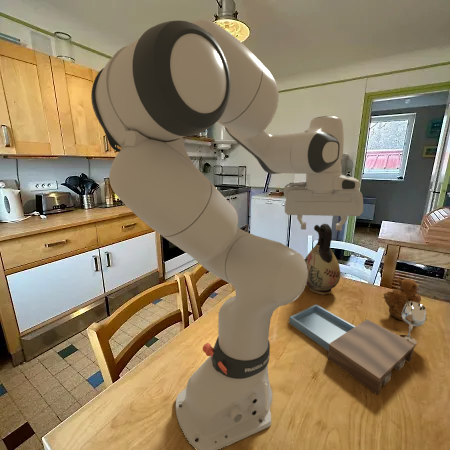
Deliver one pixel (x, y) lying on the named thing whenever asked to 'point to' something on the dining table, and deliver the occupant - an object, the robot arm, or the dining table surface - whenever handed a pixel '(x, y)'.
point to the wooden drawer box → (370, 354)
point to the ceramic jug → (322, 263)
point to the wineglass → (413, 317)
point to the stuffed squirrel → (402, 297)
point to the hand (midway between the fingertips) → (320, 229)
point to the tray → (320, 325)
